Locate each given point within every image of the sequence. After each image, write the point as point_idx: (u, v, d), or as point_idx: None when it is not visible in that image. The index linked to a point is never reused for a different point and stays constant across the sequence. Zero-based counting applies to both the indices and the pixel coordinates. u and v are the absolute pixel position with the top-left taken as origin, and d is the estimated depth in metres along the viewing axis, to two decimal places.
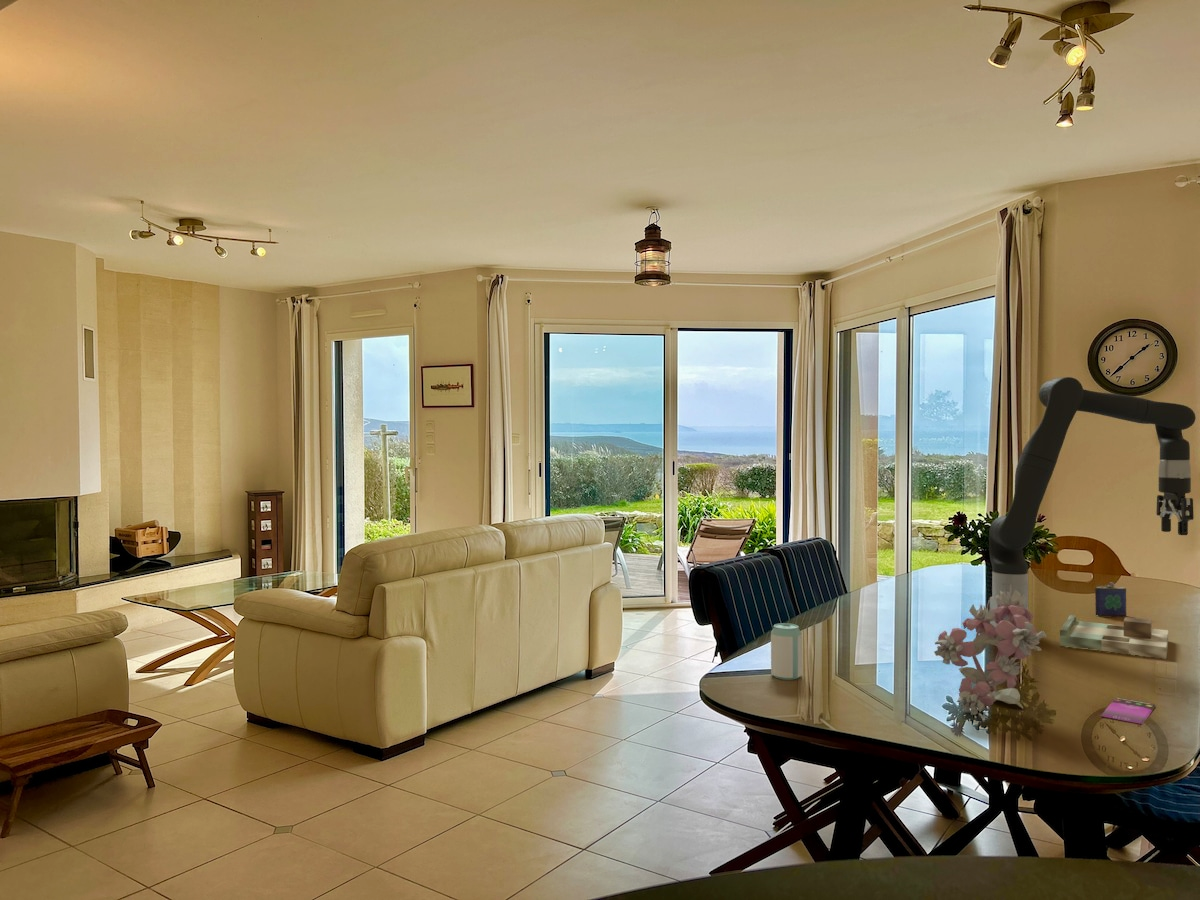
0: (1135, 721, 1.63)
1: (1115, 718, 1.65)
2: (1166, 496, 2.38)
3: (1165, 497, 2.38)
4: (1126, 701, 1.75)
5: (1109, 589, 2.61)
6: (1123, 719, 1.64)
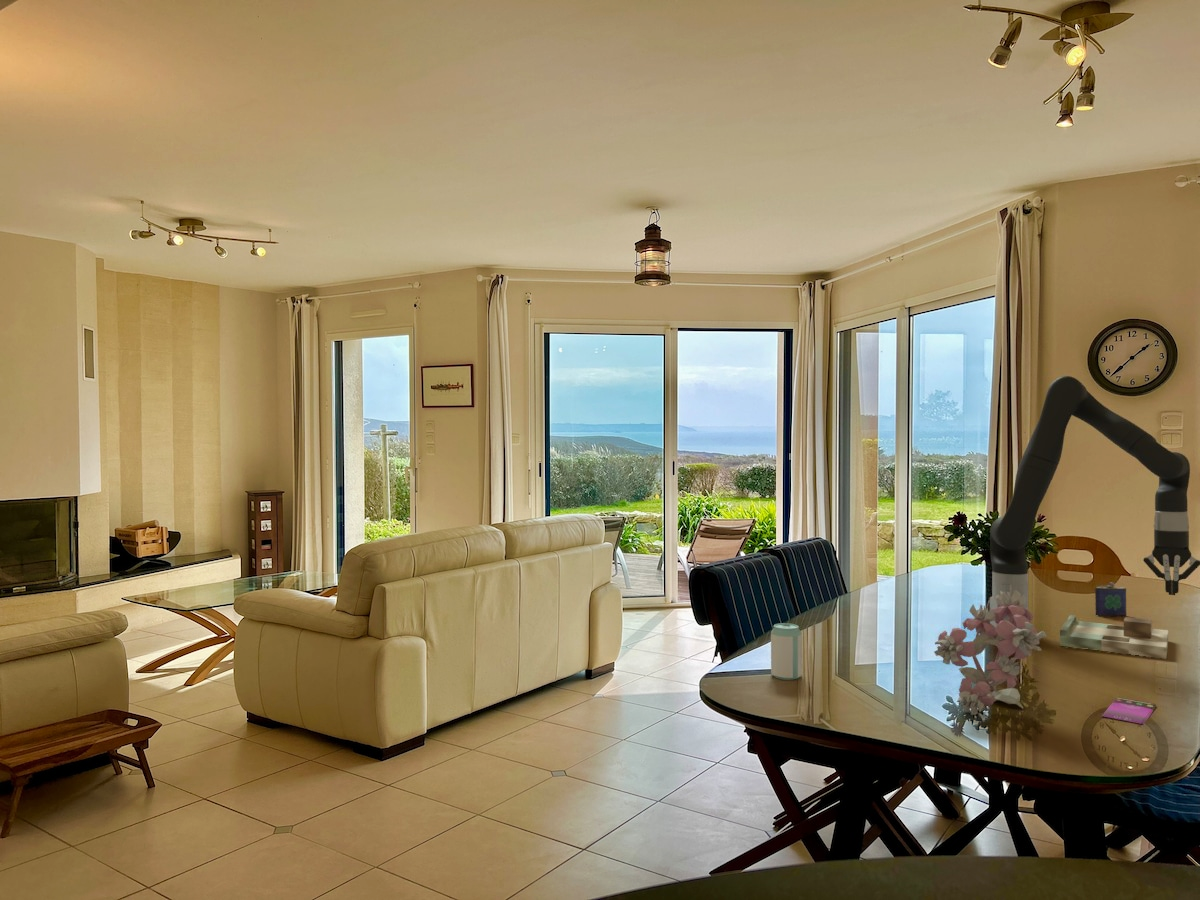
0: (1136, 721, 1.63)
1: (1116, 718, 1.65)
2: None
3: None
4: (1127, 701, 1.75)
5: (1109, 589, 2.61)
6: (1124, 719, 1.64)
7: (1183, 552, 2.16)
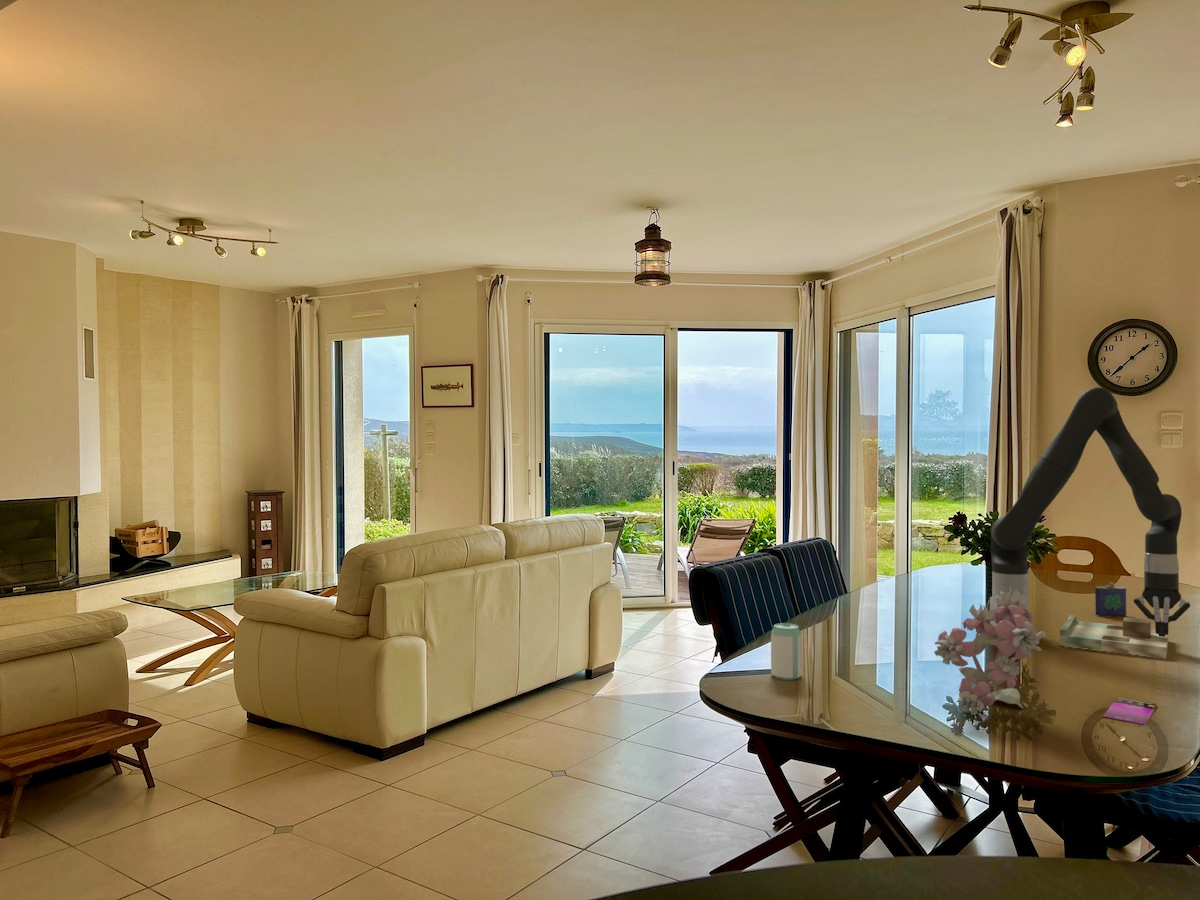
0: (1137, 721, 1.63)
1: (1117, 718, 1.65)
2: None
3: None
4: (1128, 701, 1.75)
5: (1109, 589, 2.61)
6: (1125, 719, 1.64)
7: (1173, 594, 2.17)
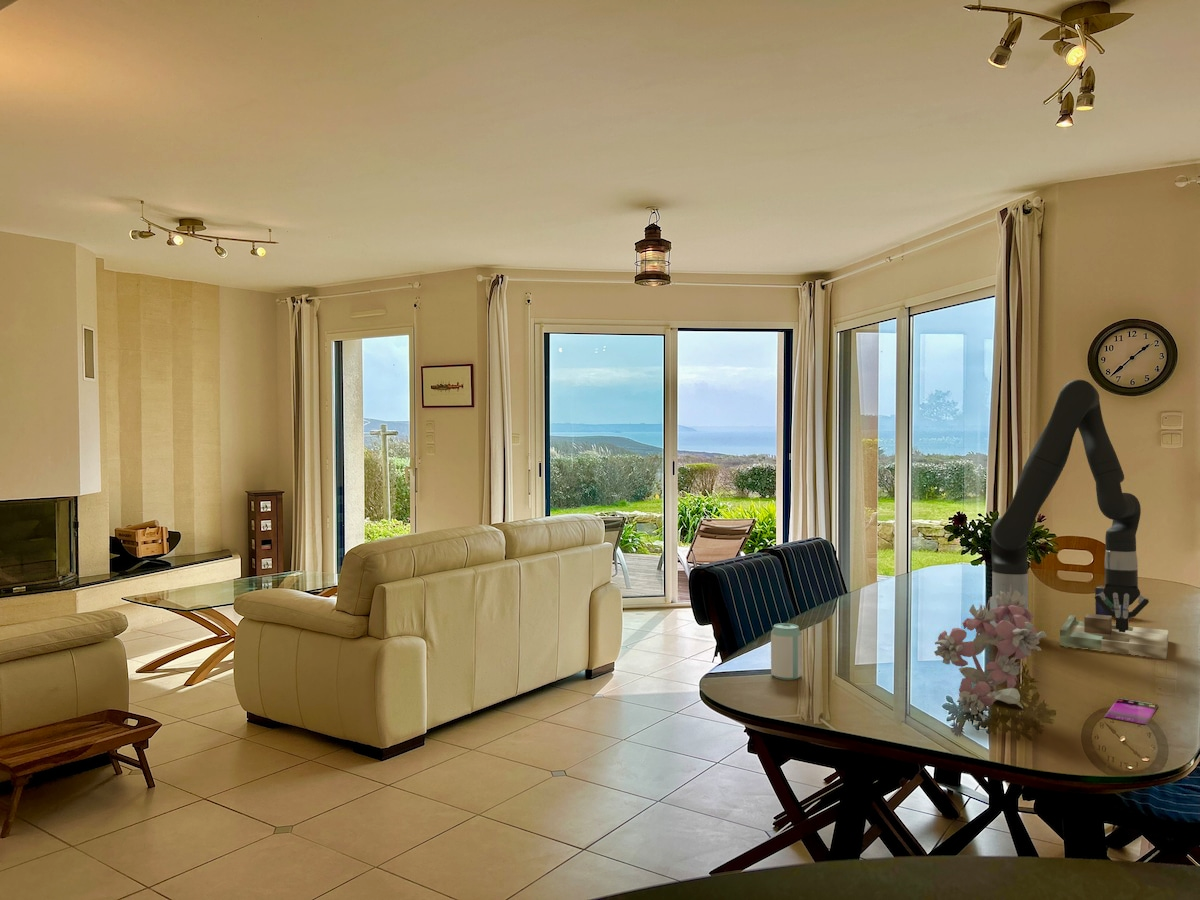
0: (1139, 721, 1.63)
1: (1119, 718, 1.65)
2: None
3: None
4: (1129, 701, 1.75)
5: None
6: (1127, 719, 1.64)
7: (1132, 590, 2.22)
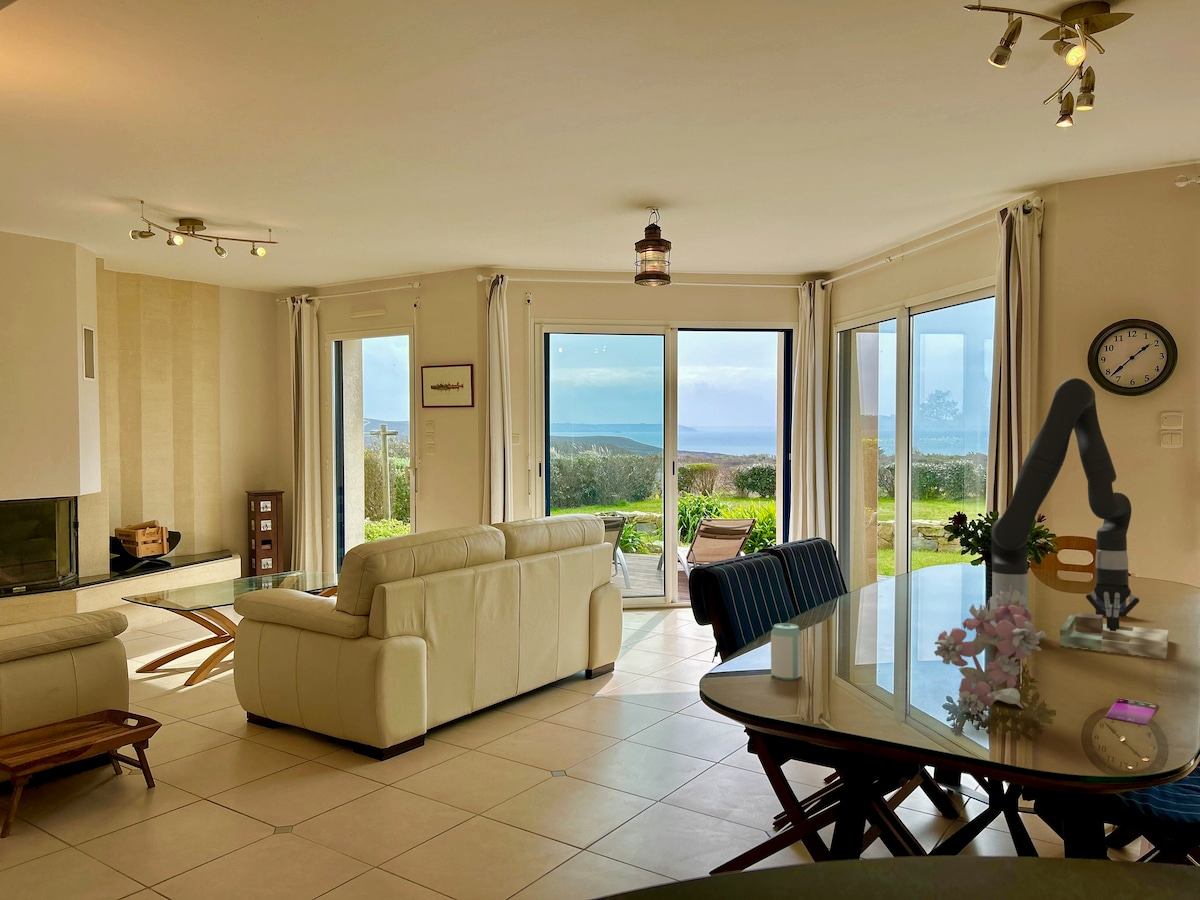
0: (1139, 721, 1.63)
1: (1119, 718, 1.65)
2: None
3: None
4: (1129, 701, 1.75)
5: None
6: (1127, 719, 1.64)
7: (1123, 590, 2.24)
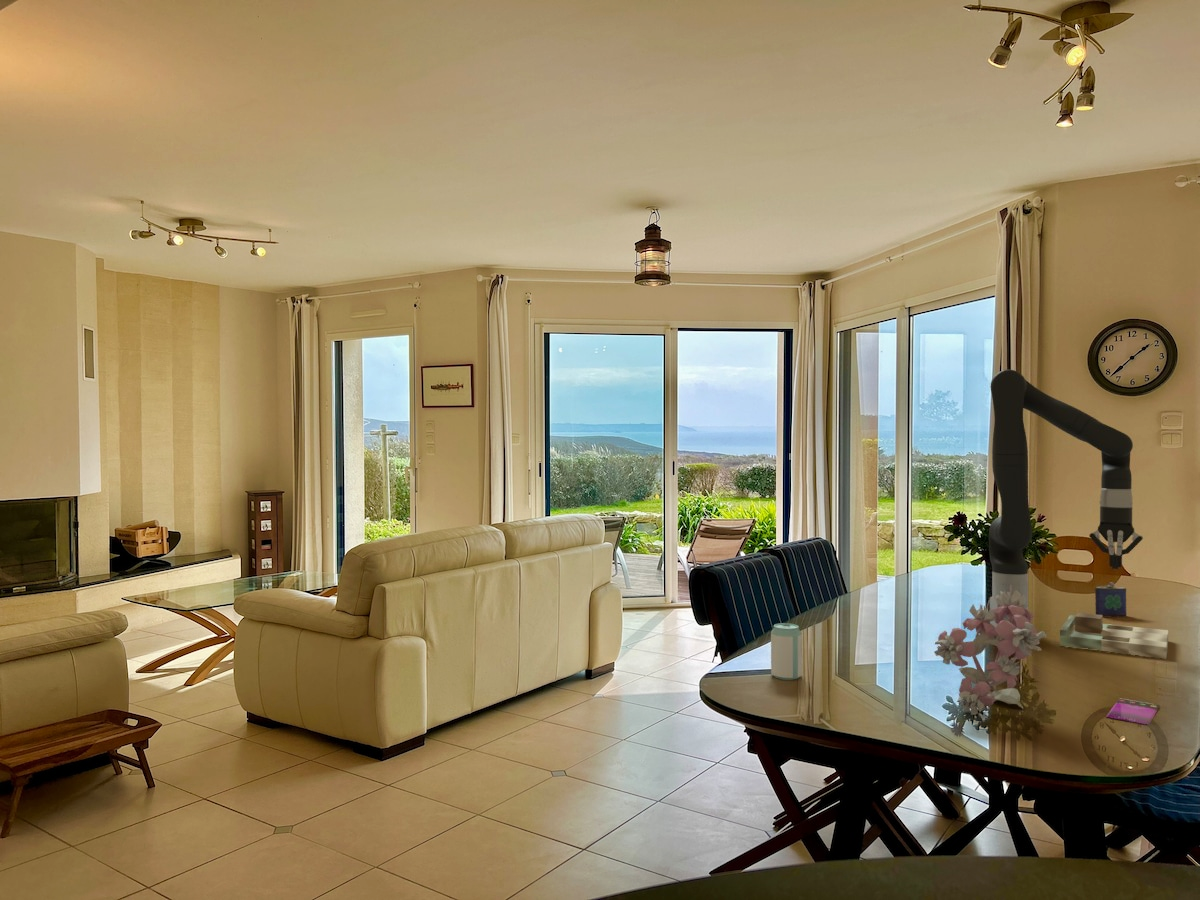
0: (1141, 721, 1.63)
1: (1120, 718, 1.65)
2: None
3: None
4: (1130, 701, 1.74)
5: (1109, 589, 2.61)
6: (1129, 719, 1.64)
7: (1126, 528, 2.26)
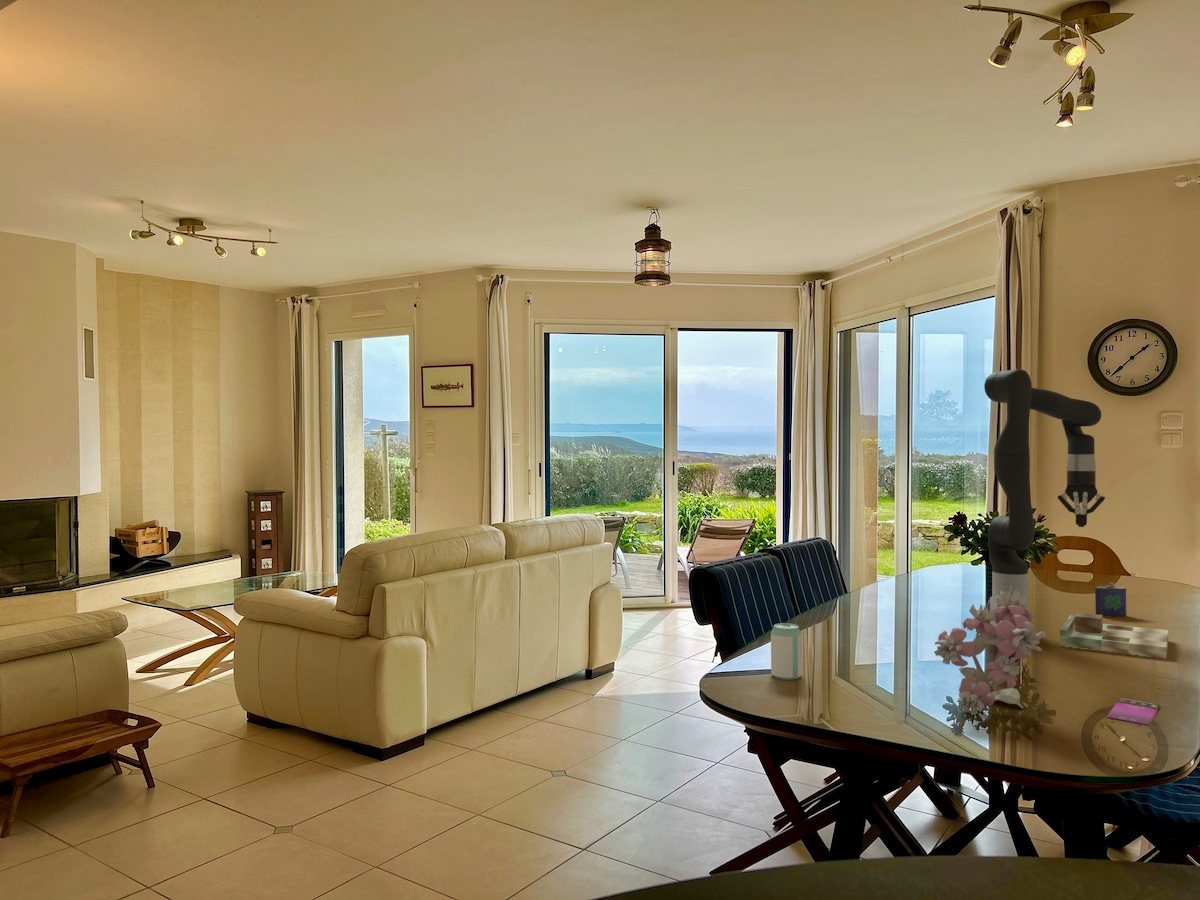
0: (1141, 722, 1.63)
1: (1121, 719, 1.65)
2: None
3: None
4: (1131, 701, 1.74)
5: (1109, 589, 2.61)
6: (1129, 720, 1.64)
7: (1090, 489, 2.50)
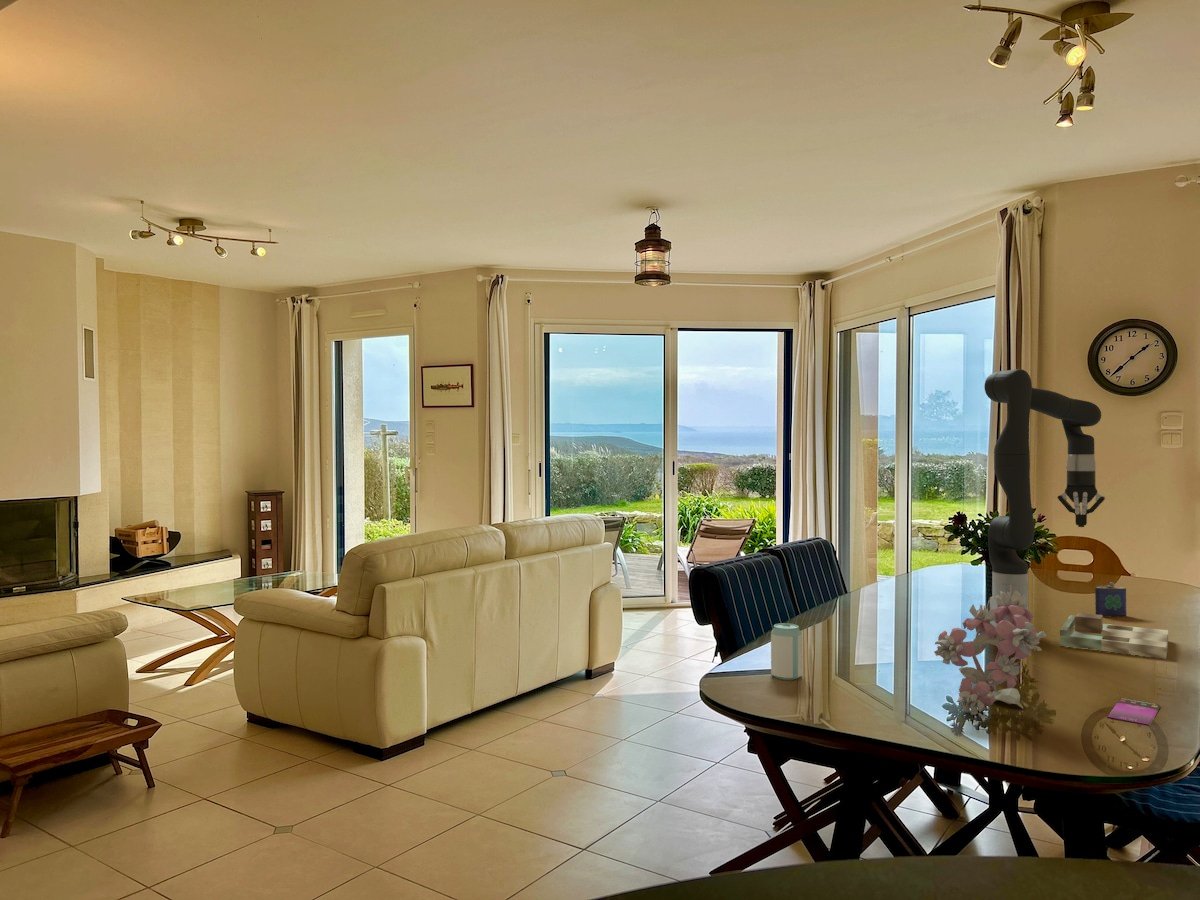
0: (1142, 722, 1.63)
1: (1122, 719, 1.64)
2: None
3: None
4: (1131, 701, 1.74)
5: (1109, 589, 2.61)
6: (1130, 720, 1.64)
7: (1090, 489, 2.50)
